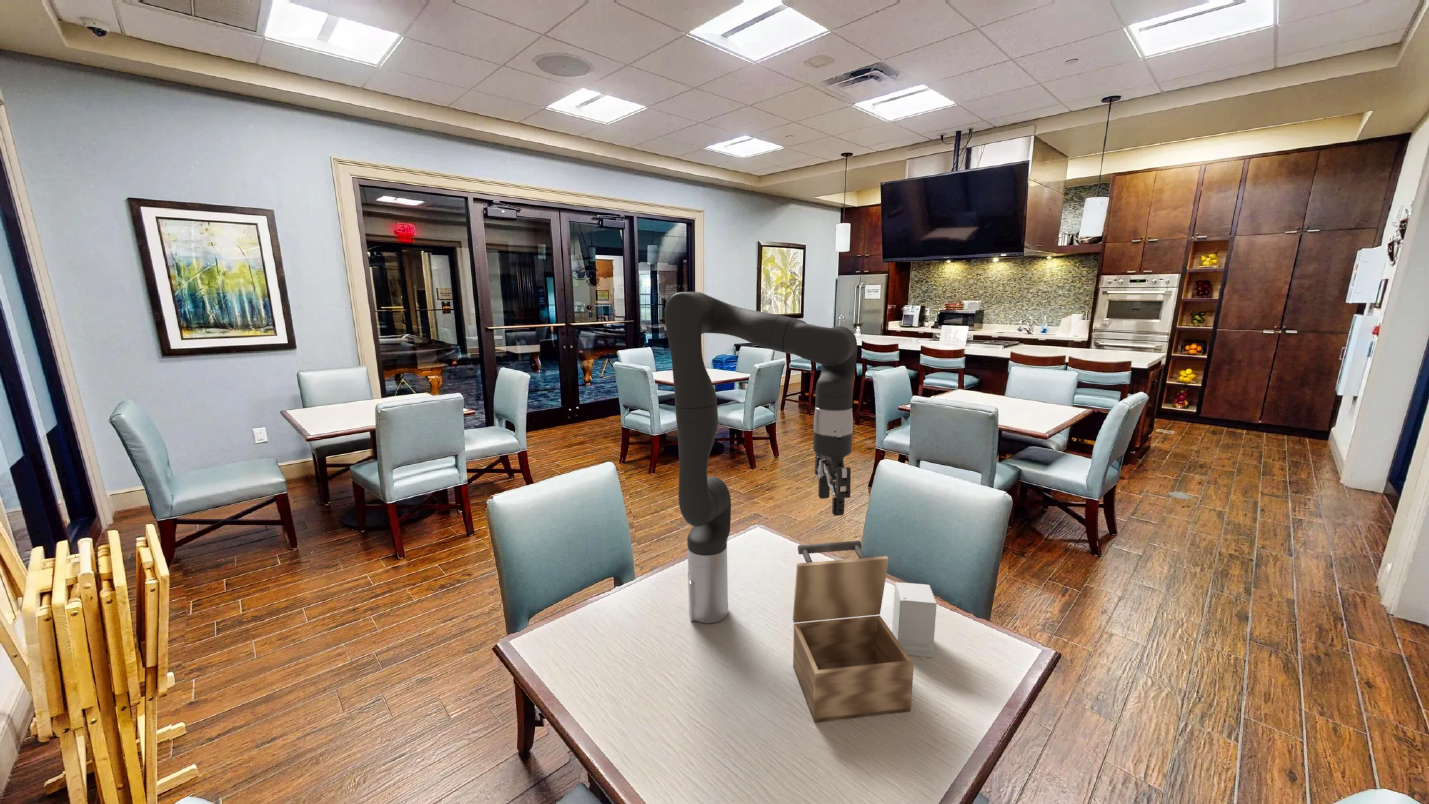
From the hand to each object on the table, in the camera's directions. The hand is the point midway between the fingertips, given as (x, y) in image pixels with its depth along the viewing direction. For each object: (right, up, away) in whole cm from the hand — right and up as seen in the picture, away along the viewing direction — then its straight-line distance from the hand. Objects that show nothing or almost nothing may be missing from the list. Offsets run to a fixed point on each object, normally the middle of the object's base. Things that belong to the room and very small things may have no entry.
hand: (830, 506), depth 105 cm
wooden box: (+2, -34, -6) cm, 34 cm away
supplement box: (+19, -31, +6) cm, 37 cm away
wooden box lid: (+1, -16, -4) cm, 16 cm away
